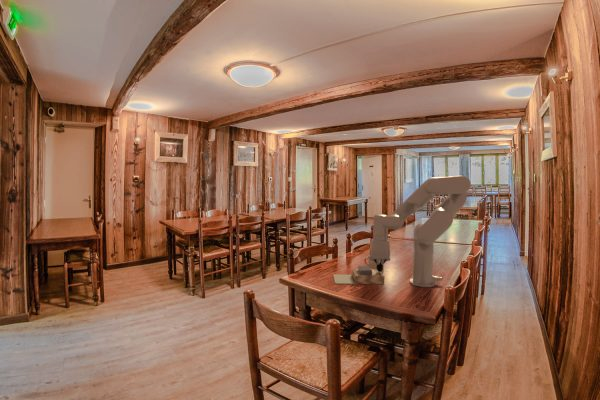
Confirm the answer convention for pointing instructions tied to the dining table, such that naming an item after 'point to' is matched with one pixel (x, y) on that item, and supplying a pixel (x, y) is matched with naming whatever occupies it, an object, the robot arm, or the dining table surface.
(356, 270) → the board
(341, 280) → the placemat
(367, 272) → the coaster
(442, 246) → the dining table surface
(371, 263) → the teacup with lid
